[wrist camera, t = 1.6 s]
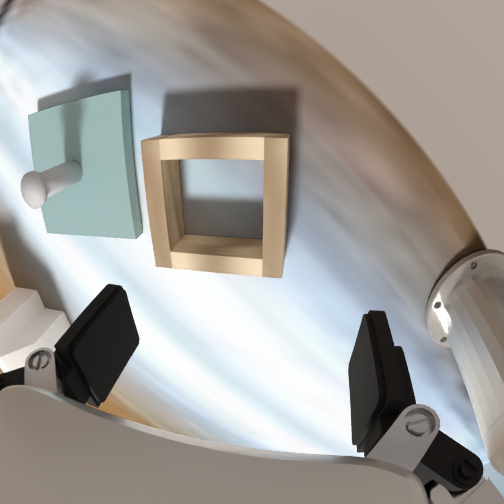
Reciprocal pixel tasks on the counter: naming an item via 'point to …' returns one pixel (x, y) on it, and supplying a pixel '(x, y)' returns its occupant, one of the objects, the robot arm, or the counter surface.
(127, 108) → the lid with knob
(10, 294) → the corner bracket
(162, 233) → the ring
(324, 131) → the counter surface
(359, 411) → the robot arm
